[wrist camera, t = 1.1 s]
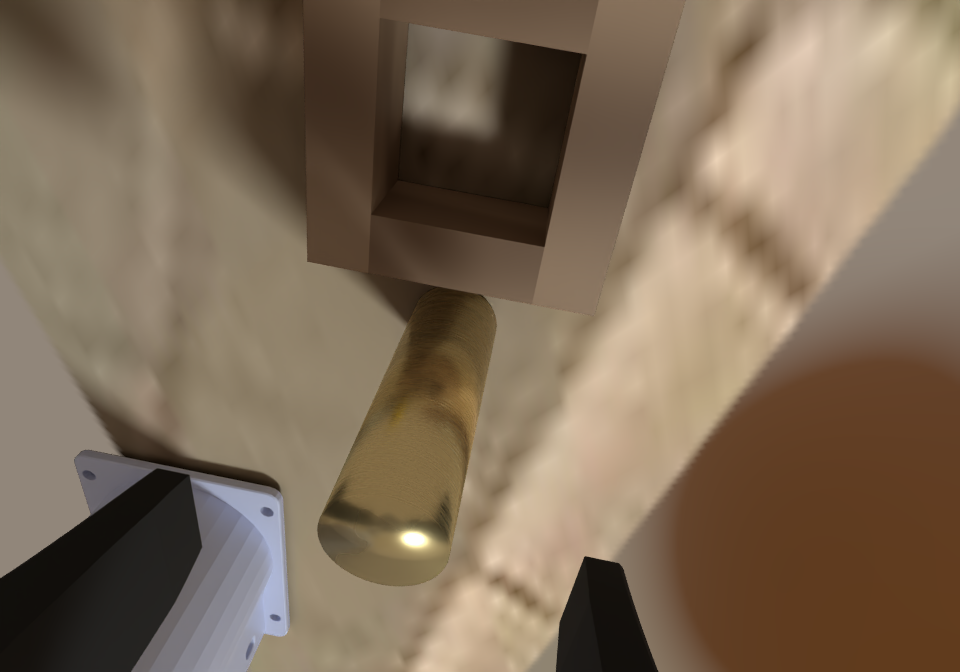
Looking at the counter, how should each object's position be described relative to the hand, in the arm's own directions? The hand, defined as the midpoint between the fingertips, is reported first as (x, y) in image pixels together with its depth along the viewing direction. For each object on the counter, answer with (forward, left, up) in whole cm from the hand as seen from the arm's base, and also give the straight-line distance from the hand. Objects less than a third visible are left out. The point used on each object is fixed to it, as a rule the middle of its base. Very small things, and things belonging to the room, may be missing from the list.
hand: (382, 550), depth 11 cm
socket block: (+6, 0, -8) cm, 10 cm away
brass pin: (0, 0, -8) cm, 8 cm away
